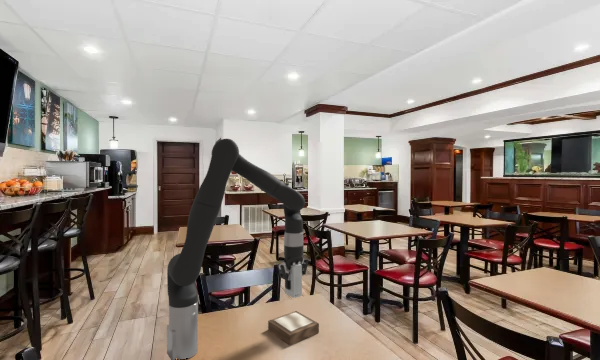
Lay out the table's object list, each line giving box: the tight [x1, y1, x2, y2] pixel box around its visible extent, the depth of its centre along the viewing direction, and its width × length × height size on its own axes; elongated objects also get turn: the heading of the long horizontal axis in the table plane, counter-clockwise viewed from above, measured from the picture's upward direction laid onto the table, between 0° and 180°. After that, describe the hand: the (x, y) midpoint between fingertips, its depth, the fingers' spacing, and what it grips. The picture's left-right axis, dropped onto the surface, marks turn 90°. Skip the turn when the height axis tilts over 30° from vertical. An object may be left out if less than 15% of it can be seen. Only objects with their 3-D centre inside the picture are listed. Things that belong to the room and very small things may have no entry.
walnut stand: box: [267, 310, 320, 346], centre depth 119 cm, size 14×14×4 cm
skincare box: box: [284, 264, 303, 299], centre depth 119 cm, size 6×4×12 cm
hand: (293, 287), depth 119 cm, fingers closed on skincare box, 4 cm apart
